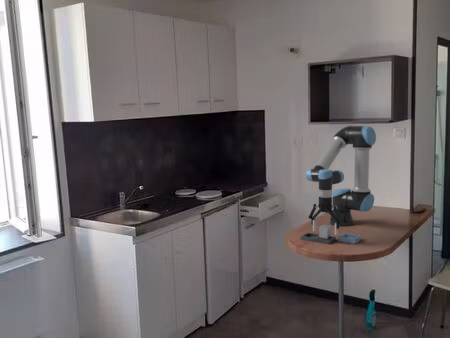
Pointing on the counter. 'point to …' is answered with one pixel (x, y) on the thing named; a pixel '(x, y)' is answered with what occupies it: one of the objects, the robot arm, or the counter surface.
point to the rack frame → (316, 238)
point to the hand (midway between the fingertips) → (325, 232)
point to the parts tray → (349, 238)
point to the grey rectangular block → (325, 232)
